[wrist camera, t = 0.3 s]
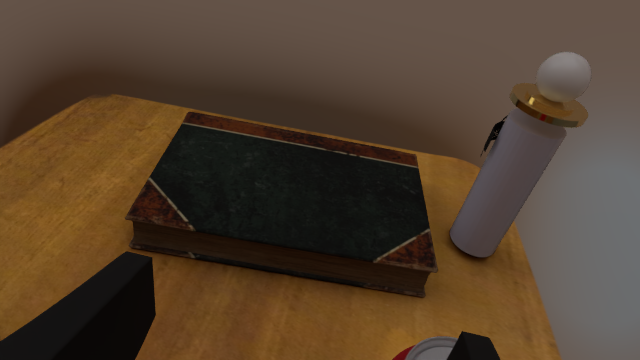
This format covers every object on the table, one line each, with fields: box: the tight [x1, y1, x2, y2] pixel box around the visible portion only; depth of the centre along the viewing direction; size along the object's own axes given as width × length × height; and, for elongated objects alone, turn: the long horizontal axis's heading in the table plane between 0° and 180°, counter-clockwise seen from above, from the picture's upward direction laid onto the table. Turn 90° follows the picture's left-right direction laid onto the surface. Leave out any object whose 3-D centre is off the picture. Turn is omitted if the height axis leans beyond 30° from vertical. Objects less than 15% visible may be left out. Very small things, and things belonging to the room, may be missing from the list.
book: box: [125, 112, 438, 297], centre depth 43 cm, size 17×4×25 cm
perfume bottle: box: [450, 52, 591, 257], centre depth 39 cm, size 6×6×20 cm
